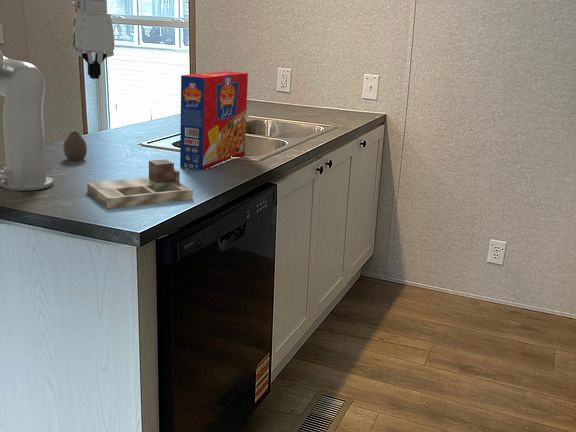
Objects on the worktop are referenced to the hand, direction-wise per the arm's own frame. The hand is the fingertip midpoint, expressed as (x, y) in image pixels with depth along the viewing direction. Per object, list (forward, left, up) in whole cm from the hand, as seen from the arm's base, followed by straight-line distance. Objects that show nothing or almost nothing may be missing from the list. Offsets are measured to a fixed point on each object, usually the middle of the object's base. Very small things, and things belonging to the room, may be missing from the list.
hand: (94, 78), depth 173 cm
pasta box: (+40, +5, -27) cm, 49 cm away
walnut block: (+10, -21, -25) cm, 34 cm away
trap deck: (+3, -25, -27) cm, 37 cm away
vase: (0, +21, -27) cm, 34 cm away
